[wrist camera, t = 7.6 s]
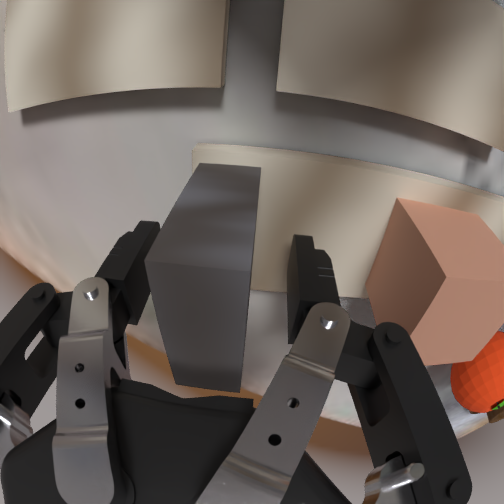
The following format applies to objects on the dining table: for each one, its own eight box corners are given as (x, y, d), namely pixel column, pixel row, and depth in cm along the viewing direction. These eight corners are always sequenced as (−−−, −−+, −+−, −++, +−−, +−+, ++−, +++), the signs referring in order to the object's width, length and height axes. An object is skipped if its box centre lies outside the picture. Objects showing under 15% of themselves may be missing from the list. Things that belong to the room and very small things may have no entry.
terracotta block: (477, 214, 11) (531, 283, 7) (440, 289, 14) (471, 360, 10) (396, 197, 11) (446, 276, 7) (365, 284, 14) (386, 368, 11)
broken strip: (513, 23, 6) (525, 24, 5) (493, 144, 10) (504, 152, 9) (20, -10, 6) (8, -10, 5) (20, 107, 10) (8, 112, 10)
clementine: (519, 321, 18) (547, 382, 13) (472, 365, 22) (490, 424, 17) (482, 305, 17) (516, 384, 11) (426, 358, 21) (445, 432, 15)
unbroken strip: (562, 219, 11) (615, 286, 6) (521, 293, 16) (557, 362, 10) (197, 143, 12) (128, 241, 6) (201, 271, 16) (170, 388, 10)
